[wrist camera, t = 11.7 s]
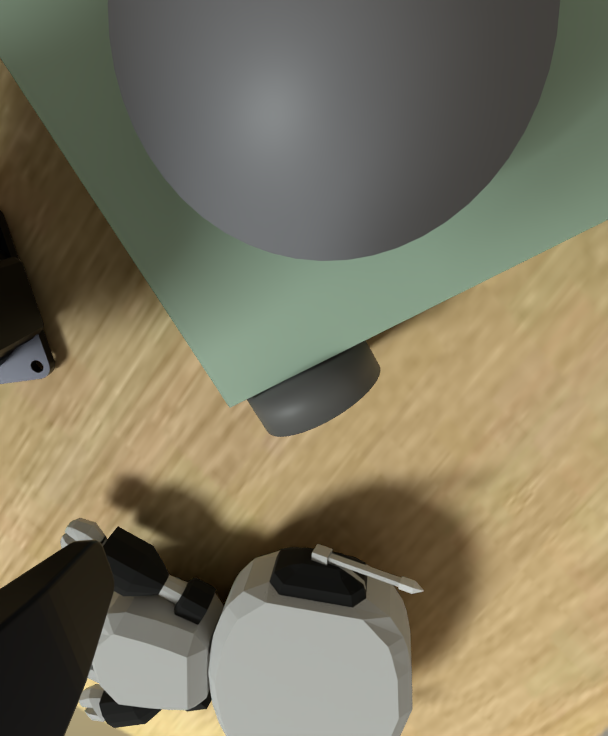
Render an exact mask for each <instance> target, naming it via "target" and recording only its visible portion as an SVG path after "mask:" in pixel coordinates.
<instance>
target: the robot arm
mask: <svg viewBox="0 0 608 736" xmlns="http://www.w3.org/2000/svg"><path fill="white" fill-rule="evenodd" d="M43 326H44V324H43V321H42V318H41V315H40V312H39V309H38V306H37V303H36V300H35V298H34V295H33V292H32V289H31V286H30V283H29V280H28V277H27V274H26V272H25V269H24V266H23V263H22V262H21V261H20V260H19V258H18V255H17V252H16V249H15V246H14V243H13V241H12V238H11V235H10V232H9V229H8V226H7V223H6V220H5V218H4V215H3V213H2V212H1V210H0V384H4V383H12V382H19V381H27V380H34V379H42V378H44V377H46V376H48V375H49V374H50V373H52V372H53V370H54V368H55V362H54V359H53V356H52V353H51V350H50V347H49V344H48V341H47V339H46V336H45V333H44V330H43ZM36 360H37V361H39V362H41V363H42V365H43V369H41V368H40V367H38V365H37V364H36ZM113 593H114V577H113V574H112V571H111V568H110V565H109V563H108V560H107V557H106V554H105V551H104V548H103V546H102V544H101V543H100V542H99V541H98V540H95V539H93V540H80V541H74V542H72V543H70V544H68V545H67V546H65V547H64V548H62V549H61V550H59V551H58V552H56V553H55V554H53V555H52V556H50V557H48V558H47V559H45V560H44V561H42V562H41V563H39V564H38V565H36V566H35V567H33V568H32V569H30V570H28V571H27V572H25V573H24V574H22V575H21V576H19V577H18V578H16V579H15V580H13V581H12V582H10V583H8V584H7V585H5V586H4V587H2V588H1V589H0V736H64V735H65V733H66V730H67V728H68V726H69V723H70V721H71V718H72V716H73V714H74V711H75V709H76V706H77V704H78V701H79V699H80V696H81V694H82V691H83V689H84V686H85V683H86V681H87V678H88V675H89V672H90V669H91V666H92V662H93V659H94V656H95V652H96V649H97V646H98V643H99V639H100V636H101V633H102V629H103V626H104V623H105V619H106V616H107V613H108V610H109V606H110V603H111V600H112V596H113Z"/></svg>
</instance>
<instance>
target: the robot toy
mask: <svg viewBox="0 0 608 736" xmlns="http://www.w3.org/2000/svg"><path fill="white" fill-rule="evenodd" d="M93 539H95V540H98V541H99V542H100V543H101V544H102V546H103V548H104V551H105V554H106V557H107V560H108V563H109V565H110V568H111V571H112V574H113V577H114V593H113V596H112V600H111V603H110V606H109V610H108V613H107V616H106V619H105V623H104V626H103V629H102V633H101V636H100V639H99V643H98V646H97V649H96V652H95V656H94V659H93V662H92V666H91V669H90V672H89V675H88V678H89V679H91V680H93V681H95V682H97V683H99V684H100V685H99V684H95V685H93V686H90V687H88V688H86V689H85V690H83V691H82V694H81V696H80V700H79V703H80V705H81V706H82V707H87V708H86V709H85V712H86V714H87V715H88V716H89V717H90V719H91V720H95V721H103V722H104V721H106V722H107V724H109V725H110V726H112V727H114V728H117V727H124V726H132V725H140V724H146V723H147V722H148V721H149V720H150V719H152V718H153V717H154V716H155V715H156V714H157V713H158V712H160V711H161V710H162V709H167V710H186V711H194V710H201V709H207V707H208V706H209V704H210V702H211V700H212V703H213V707H214V710H215V713H216V715H217V718H218V721H219V724H220V725H221V727H222V729H223V731H224V733H225V735H226V736H400V735H401V733H402V731H403V728H404V726H405V724H406V722H407V720H408V717H409V715H410V713H411V711H412V666H411V636H410V626H409V621H408V616H407V610H406V608H405V605H404V602H403V599H402V598H401V596H400V595H399V593H398V592H397V590H396V589H395V587H394V586H397V587H399V588H398V589H400V590H402V591H405V592H408V593H411V594H414V593H418V592H423V591H424V590H423V589H422V588H421V587H420V585H419V584H418V583H417V582H416V581H415V580H412V579H409V578H406V577H404V576H402V578H401V577H398V576H395V575H392V574H389V573H386V572H384V571H381V570H378V569H375V568H372V567H370V566H368V565H367V564H366V563H365V562H363V561H361V560H359V559H357V558H355V557H352V556H347V555H344V554H341V553H335V552H332V549H331V548H328V547H325V546H323V545H320V544H317V545H316V547H315V549H311V548H298V547H290V548H284V549H280V551H277V552H274V553H270V554H267V555H264V556H261V557H257V558H255V559H253V560H252V561H251V562H250V563H249V564H248V565H247V566H246V567H245V568H244V569H243V570H242V571H240V573H239V574H238V576H237V578H236V579H235V581H234V583H233V585H232V588H231V590H230V593H229V595H228V598H227V600H226V603H225V605H224V608H223V604H222V602H221V601H220V599H219V598H218V596H217V595H216V593H215V591H216V588H214V587H212V586H211V585H209V584H207V583H205V582H203V581H202V580H200V579H198V578H196V577H195V578H193V579H191V580H189V582H186V581H183V580H180V578H177V577H173V576H171V575H169V573H168V571H167V569H166V567H165V565H164V563H163V561H162V559H161V558H160V556H159V554H158V553H157V551H156V549H155V548H154V546H152V545H151V544H149V543H147V542H145V541H143V540H142V539H140V538H138V537H136V536H134V535H133V534H131V533H129V532H127V531H125V530H124V529H122V528H120V527H117V528H116V529H115V531H114V532H113V533H112V534H111V535H110V537H109V538H108V540H107V537H106V536H105V534H104V533H103V532H102V530H101V529H100V528H99V526H98V525H97V523H95V522H92V521H89V520H86V519H82V518H79V519H76V520H73V521H72V522H70V524H69V525H68V526H67V528H66V530H65V534H64V535H63V536H62V539H61V541H60V542H61V547H62V548H64V547H65V546H67V545H68V544H70V543H72V542H74V541H80V540H93ZM393 585H394V586H393Z"/></svg>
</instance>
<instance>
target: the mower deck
mask: <svg viewBox="0 0 608 736" xmlns="http://www.w3.org/2000/svg"><path fill="white" fill-rule="evenodd" d="M0 58H1V60H2V61H3V63H4V64H5V66H6V67H7V69H8V70H9V72H10V73H11V75H12V77H13V78H14V80H15V81H16V83H17V84H18V86H19V87H20V89H21V90H22V92H23V93H24V95H25V96H26V98H27V99H28V101H29V102H30V104H31V106H32V107H33V109H34V110H35V112H36V113H37V115H38V116H39V118H40V119H41V121H42V122H43V124H44V125H45V127H46V128H47V130H48V131H49V133H50V134H51V136H52V138H53V139H54V141H55V142H56V144H57V145H58V147H59V148H60V150H61V151H62V153H63V154H64V156H65V157H66V159H67V160H68V162H69V163H70V165H71V167H72V168H73V170H74V171H75V173H76V174H77V176H78V177H79V179H80V180H81V182H82V183H83V185H84V186H85V188H86V189H87V191H88V192H89V194H90V195H91V197H92V199H93V200H94V202H95V203H96V205H97V206H98V208H99V209H100V211H101V212H102V214H103V215H104V217H105V218H106V220H107V221H108V223H109V224H110V226H111V227H112V229H113V231H114V232H115V234H116V235H117V237H118V238H119V240H120V241H121V243H122V244H123V246H124V247H125V249H126V250H127V252H128V253H129V255H130V256H131V258H132V260H133V261H134V263H135V264H136V266H137V267H138V269H139V270H140V272H141V273H142V275H143V276H144V278H145V279H146V281H147V282H148V284H149V285H150V287H151V288H152V290H153V292H154V293H155V295H156V296H157V298H158V299H159V301H160V302H161V304H162V305H163V307H164V308H165V310H166V311H167V313H168V314H169V316H170V317H171V319H172V321H173V322H174V324H175V325H176V327H177V328H178V330H179V331H180V333H181V334H182V336H183V337H184V339H185V340H186V342H187V343H188V345H189V346H190V348H191V349H192V351H193V353H194V354H195V356H196V357H197V359H198V360H199V362H200V363H201V365H202V366H203V368H204V369H205V371H206V372H207V374H208V375H209V377H210V378H211V380H212V381H213V383H214V385H215V386H216V388H217V389H218V391H219V392H220V394H221V395H222V397H223V398H224V400H225V401H226V403H227V404H228V406H229V407H232V406H234V405H236V404H238V403H240V402H242V401H244V400H246V399H247V400H248V402H249V404H250V405H251V407H252V408H253V410H254V411H255V413H256V415H257V416H258V418H259V419H260V421H261V422H262V424H263V425H264V427H265V429H266V430H267V432H268V433H269V434H271V435H273V436H277V437H284V436H291V435H296V434H299V433H302V432H305V431H308V430H311V429H313V428H315V427H318V426H320V425H322V424H324V423H326V422H328V421H329V420H331V419H333V418H335V417H336V416H338V415H340V414H341V413H343V412H344V411H346V410H347V409H348V408H350V407H351V406H353V405H354V404H355V403H356V402H358V401H359V400H360V399H361V398H362V397H363V396H364V395H365V394H366V393H367V392H368V391H369V390H370V389H371V388H372V387H373V385H374V384H375V382H376V381H377V379H378V377H379V374H380V366H379V364H378V362H377V360H376V358H375V357H374V355H373V353H372V351H371V349H370V347H369V346H368V344H367V342H366V340H367V339H369V338H371V337H373V336H375V335H377V334H379V333H381V332H383V331H385V330H387V329H389V328H391V327H393V326H395V325H397V324H399V323H401V322H403V321H405V320H407V319H409V318H411V317H413V316H415V315H417V314H419V313H421V312H423V311H425V310H427V309H429V308H431V307H433V306H435V305H437V304H439V303H441V302H443V301H445V300H447V299H449V298H451V297H453V296H455V295H457V294H459V293H461V292H463V291H465V290H467V289H469V288H471V287H473V286H475V285H477V284H479V283H481V282H483V281H485V280H487V279H489V278H491V277H493V276H496V275H498V274H500V273H502V272H504V271H506V270H508V269H510V268H512V267H514V266H516V265H518V264H520V263H522V262H524V261H526V260H528V259H530V258H532V257H534V256H536V255H538V254H540V253H542V252H544V251H546V250H548V249H550V248H552V247H554V246H556V245H558V244H560V243H562V242H564V241H566V240H568V239H570V238H572V237H574V236H576V235H578V234H580V233H582V232H584V231H586V230H588V229H590V228H592V227H594V226H596V225H598V224H600V223H602V222H604V221H606V220H608V0H0Z"/></svg>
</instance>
